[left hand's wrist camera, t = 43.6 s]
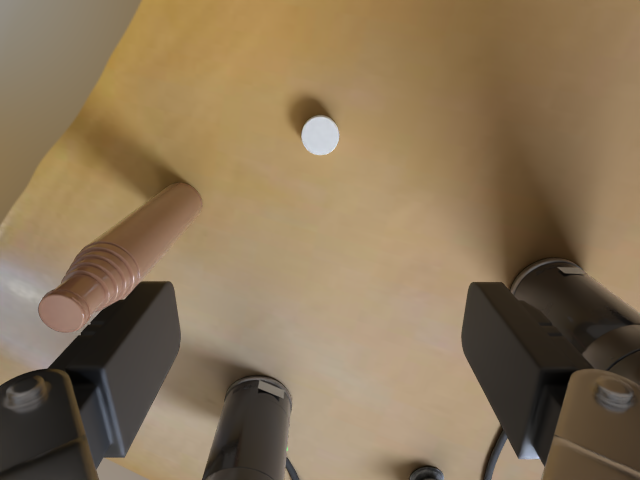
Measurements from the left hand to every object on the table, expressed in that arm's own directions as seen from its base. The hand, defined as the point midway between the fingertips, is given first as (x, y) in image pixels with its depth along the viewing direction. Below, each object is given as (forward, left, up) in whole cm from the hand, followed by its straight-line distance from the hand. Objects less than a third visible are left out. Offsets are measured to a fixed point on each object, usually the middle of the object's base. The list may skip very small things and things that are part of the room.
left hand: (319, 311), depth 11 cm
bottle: (-3, +17, -36) cm, 40 cm away
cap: (0, 0, -34) cm, 34 cm away
